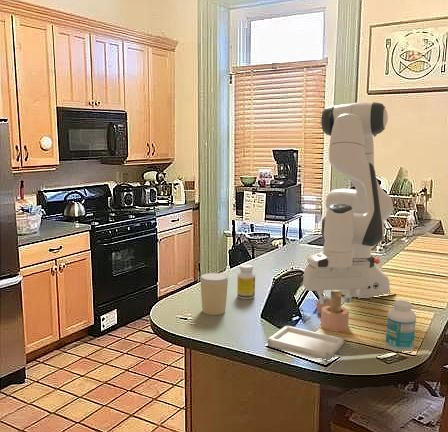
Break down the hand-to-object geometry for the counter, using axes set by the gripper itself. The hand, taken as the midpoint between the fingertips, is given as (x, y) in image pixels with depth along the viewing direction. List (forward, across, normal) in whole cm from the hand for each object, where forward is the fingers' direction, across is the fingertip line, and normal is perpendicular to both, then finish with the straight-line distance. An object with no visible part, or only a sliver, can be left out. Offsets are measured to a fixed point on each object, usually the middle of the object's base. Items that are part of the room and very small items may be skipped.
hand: (335, 303), depth 152 cm
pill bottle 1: (+8, +20, -34) cm, 40 cm away
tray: (+8, +13, +11) cm, 19 cm away
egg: (+8, -1, -11) cm, 14 cm away
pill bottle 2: (+8, -12, +17) cm, 22 cm away
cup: (+8, 0, 0) cm, 8 cm away
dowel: (+7, 0, 0) cm, 7 cm away
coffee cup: (+8, +34, -21) cm, 41 cm away
